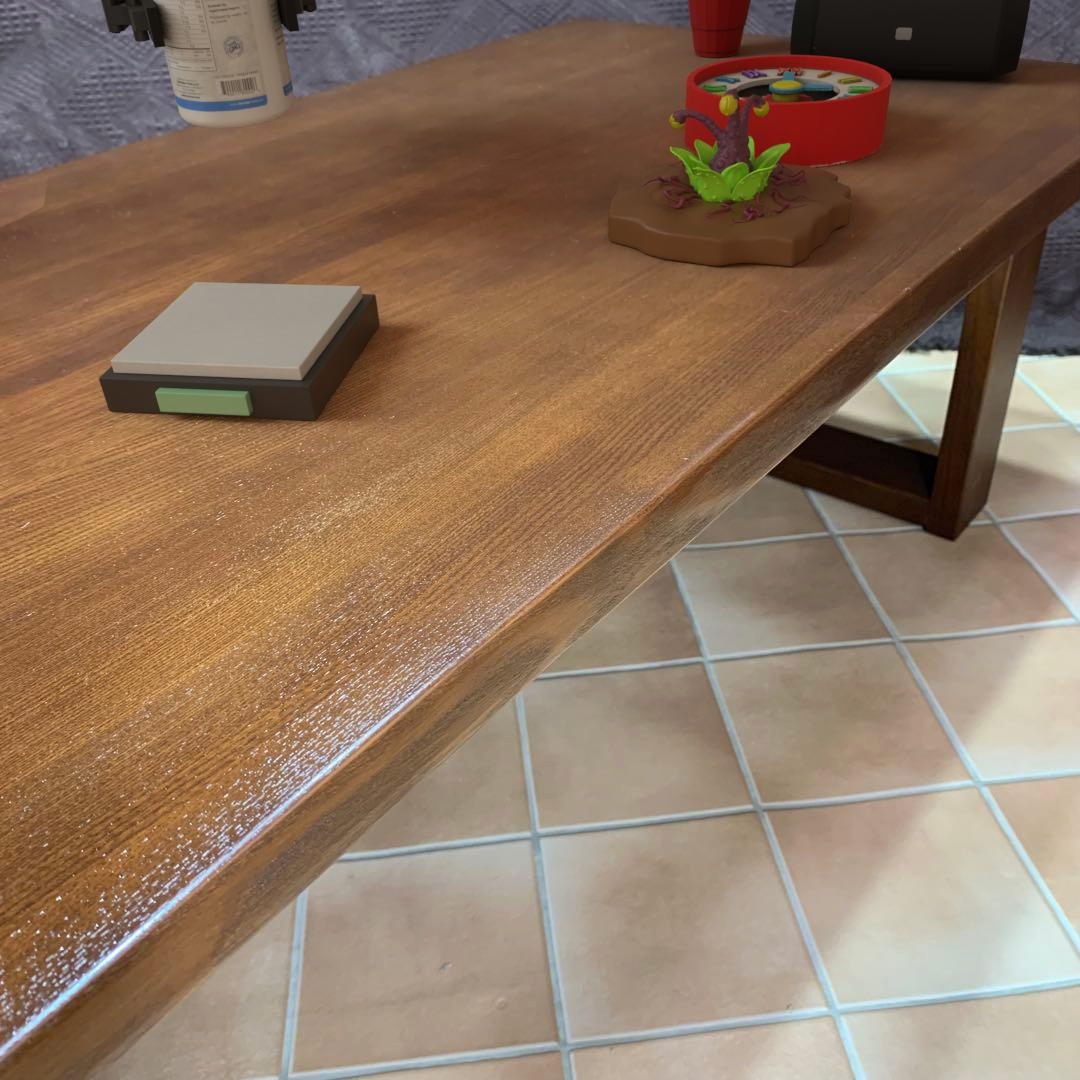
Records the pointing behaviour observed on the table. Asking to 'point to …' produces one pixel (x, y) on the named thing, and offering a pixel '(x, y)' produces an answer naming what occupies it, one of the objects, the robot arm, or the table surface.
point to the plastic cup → (717, 26)
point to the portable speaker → (915, 35)
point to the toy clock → (797, 105)
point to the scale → (244, 351)
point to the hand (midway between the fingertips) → (224, 19)
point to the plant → (728, 199)
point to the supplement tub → (226, 61)
